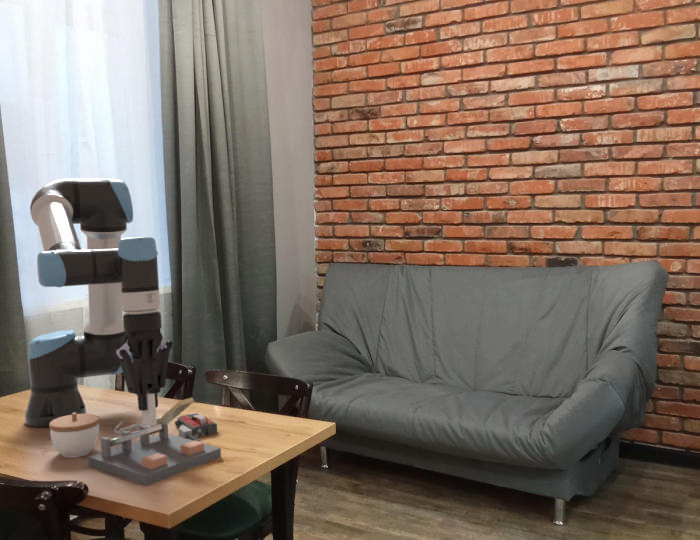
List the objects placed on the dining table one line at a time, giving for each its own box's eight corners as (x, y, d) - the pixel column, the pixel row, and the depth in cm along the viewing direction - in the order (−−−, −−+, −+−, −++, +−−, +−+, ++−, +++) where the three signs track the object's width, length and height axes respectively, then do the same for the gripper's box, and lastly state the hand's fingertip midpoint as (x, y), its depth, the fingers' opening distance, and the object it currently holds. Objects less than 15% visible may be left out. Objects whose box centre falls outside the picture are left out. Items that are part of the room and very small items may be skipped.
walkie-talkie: (167, 429, 176) (196, 450, 159) (166, 412, 175) (195, 431, 159) (199, 422, 181) (231, 442, 164) (199, 406, 180) (230, 424, 164)
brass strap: (147, 436, 158) (144, 430, 158) (159, 432, 161) (156, 426, 161) (182, 406, 149) (179, 399, 150) (194, 402, 152) (191, 396, 153)
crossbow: (130, 443, 168) (129, 434, 168) (103, 433, 176) (102, 425, 176) (184, 423, 180) (183, 415, 180) (156, 415, 189) (155, 407, 188)
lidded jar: (99, 458, 154) (97, 417, 154) (47, 463, 151) (45, 422, 151) (102, 443, 165) (100, 404, 164) (54, 448, 162) (51, 409, 161)
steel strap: (107, 448, 150) (105, 441, 151) (121, 443, 153) (119, 436, 153) (148, 434, 141) (146, 426, 141) (162, 430, 144) (160, 422, 144)
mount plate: (88, 465, 149) (87, 438, 149) (164, 440, 165) (163, 416, 165) (145, 485, 137) (143, 456, 137) (220, 456, 153) (219, 430, 153)
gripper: (125, 315, 135) (133, 434, 135) (178, 308, 145) (186, 419, 146) (103, 315, 139) (111, 430, 140) (156, 308, 150) (164, 415, 150)
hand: (149, 424), depth 143 cm, fingers closed
